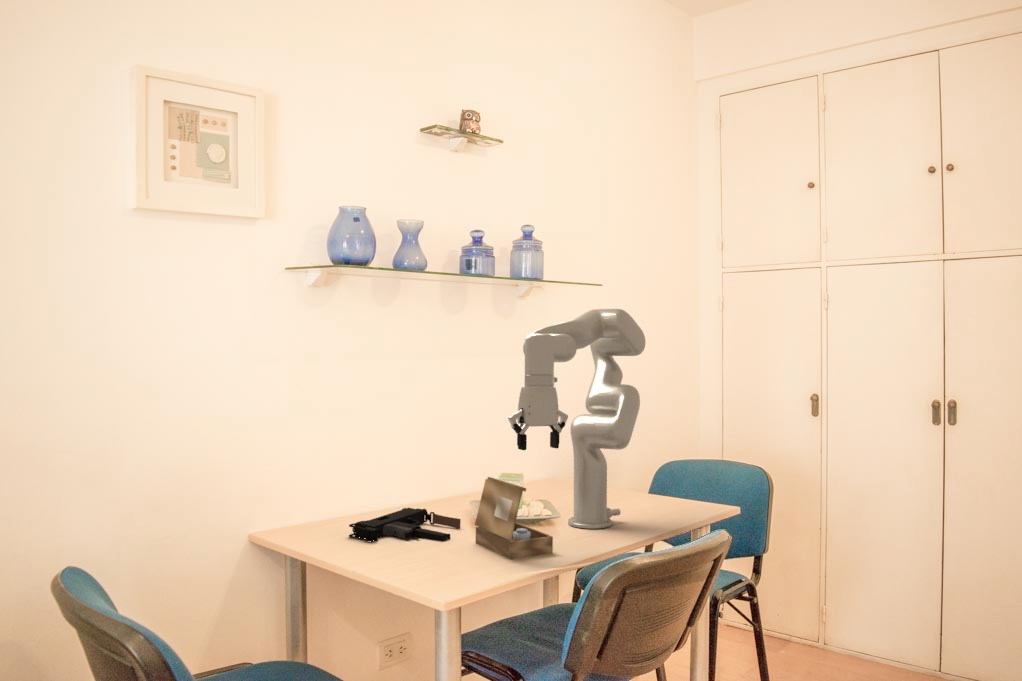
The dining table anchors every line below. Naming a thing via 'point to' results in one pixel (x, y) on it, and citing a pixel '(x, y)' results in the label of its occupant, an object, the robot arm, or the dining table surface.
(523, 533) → the blue jar
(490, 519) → the lid
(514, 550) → the box
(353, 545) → the dining table surface
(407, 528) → the submachine gun
